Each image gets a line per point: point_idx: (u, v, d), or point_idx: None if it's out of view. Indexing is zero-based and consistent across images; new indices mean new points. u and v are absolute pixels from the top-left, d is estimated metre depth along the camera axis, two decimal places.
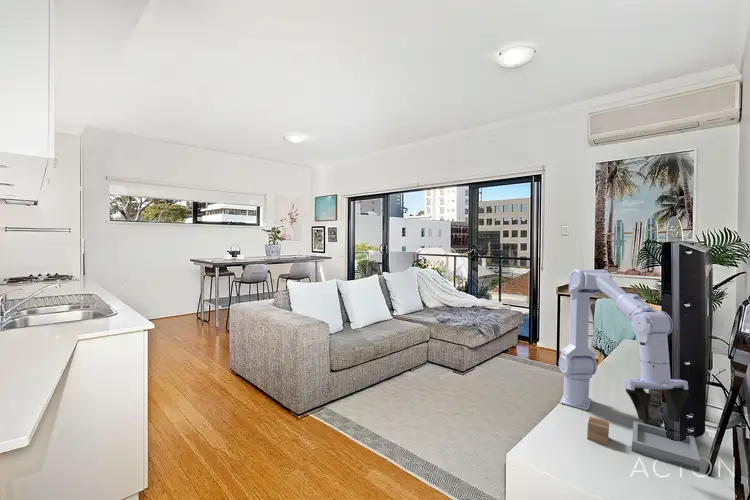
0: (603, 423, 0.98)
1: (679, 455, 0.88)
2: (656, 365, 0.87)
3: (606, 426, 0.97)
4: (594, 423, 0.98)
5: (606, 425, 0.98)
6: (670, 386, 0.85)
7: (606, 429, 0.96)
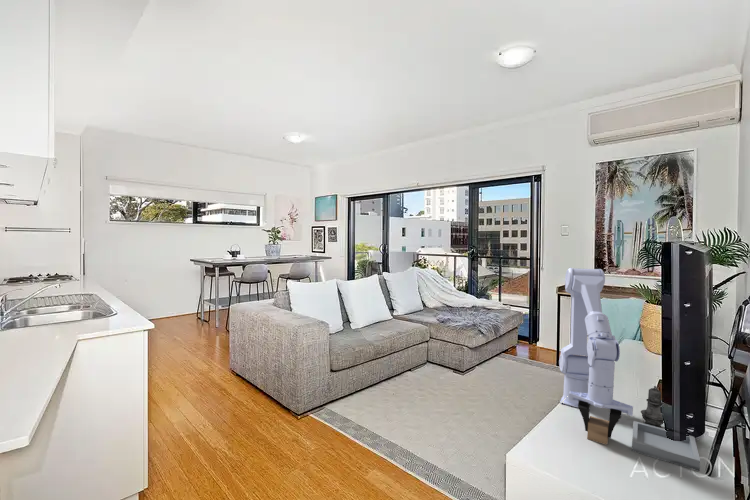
0: (603, 423, 0.98)
1: (679, 455, 0.88)
2: (592, 385, 0.98)
3: (606, 426, 0.97)
4: (594, 423, 0.98)
5: (606, 425, 0.98)
6: (598, 406, 0.96)
7: (606, 429, 0.96)
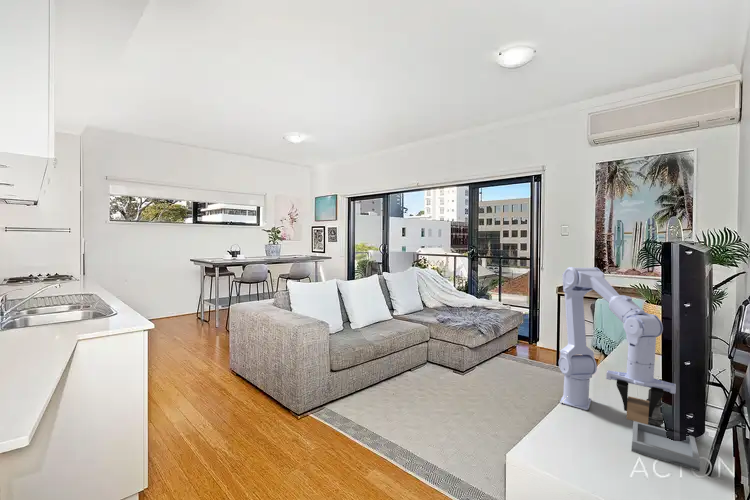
0: (643, 403, 0.95)
1: (679, 455, 0.88)
2: (632, 363, 0.95)
3: (647, 405, 0.94)
4: (634, 402, 0.96)
5: (647, 404, 0.95)
6: (639, 384, 0.93)
7: (647, 408, 0.93)
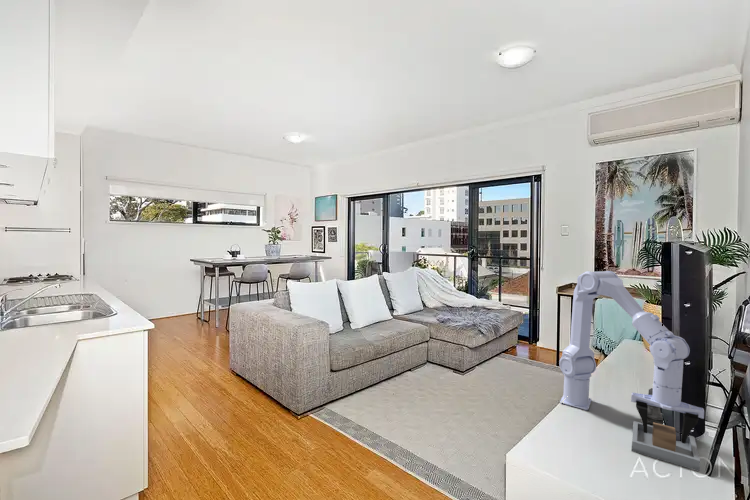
0: (669, 430, 0.94)
1: (679, 455, 0.88)
2: (659, 387, 0.93)
3: (674, 433, 0.93)
4: (660, 429, 0.94)
5: (673, 432, 0.93)
6: (667, 408, 0.91)
7: (674, 436, 0.92)
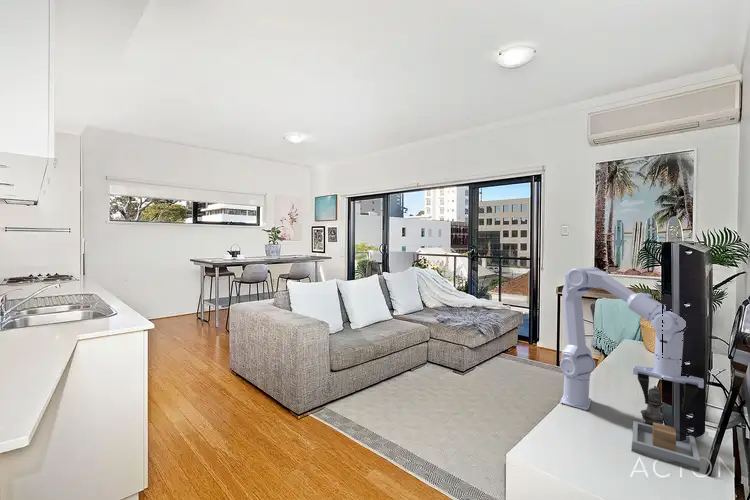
0: (669, 430, 0.94)
1: (679, 455, 0.88)
2: (660, 358, 0.96)
3: (674, 433, 0.93)
4: (660, 429, 0.94)
5: (673, 432, 0.93)
6: (667, 378, 0.94)
7: (674, 436, 0.92)
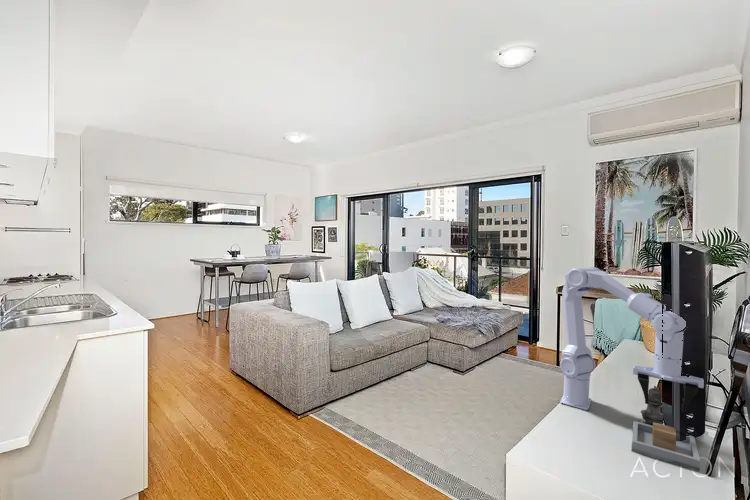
0: (669, 430, 0.94)
1: (679, 455, 0.88)
2: (660, 358, 0.96)
3: (674, 433, 0.93)
4: (660, 429, 0.94)
5: (673, 432, 0.93)
6: (667, 378, 0.94)
7: (674, 436, 0.92)
